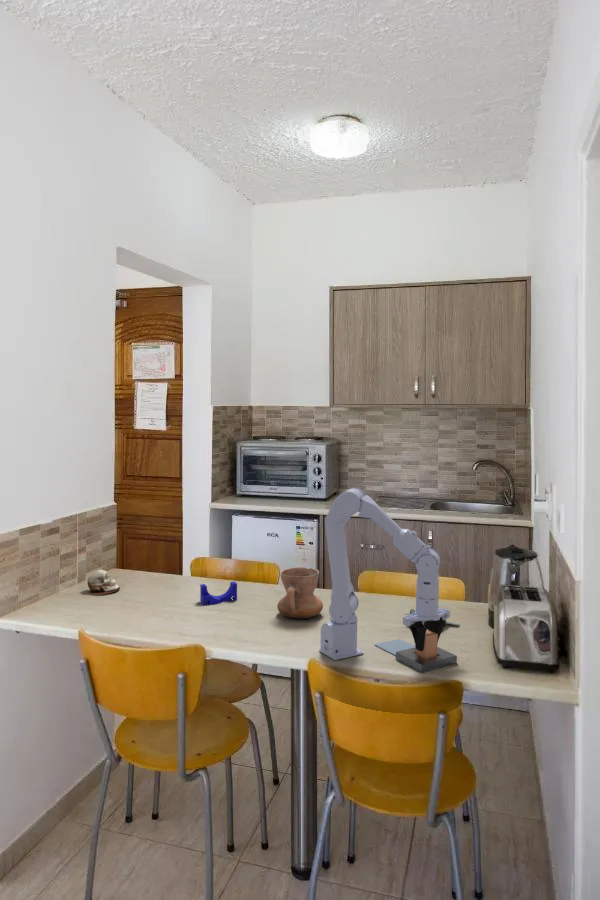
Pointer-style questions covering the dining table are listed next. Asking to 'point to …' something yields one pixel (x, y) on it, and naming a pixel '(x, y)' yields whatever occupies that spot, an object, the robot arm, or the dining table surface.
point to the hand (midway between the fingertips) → (426, 648)
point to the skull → (101, 583)
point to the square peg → (428, 645)
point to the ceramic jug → (300, 593)
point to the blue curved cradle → (210, 599)
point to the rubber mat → (395, 646)
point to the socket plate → (429, 663)
